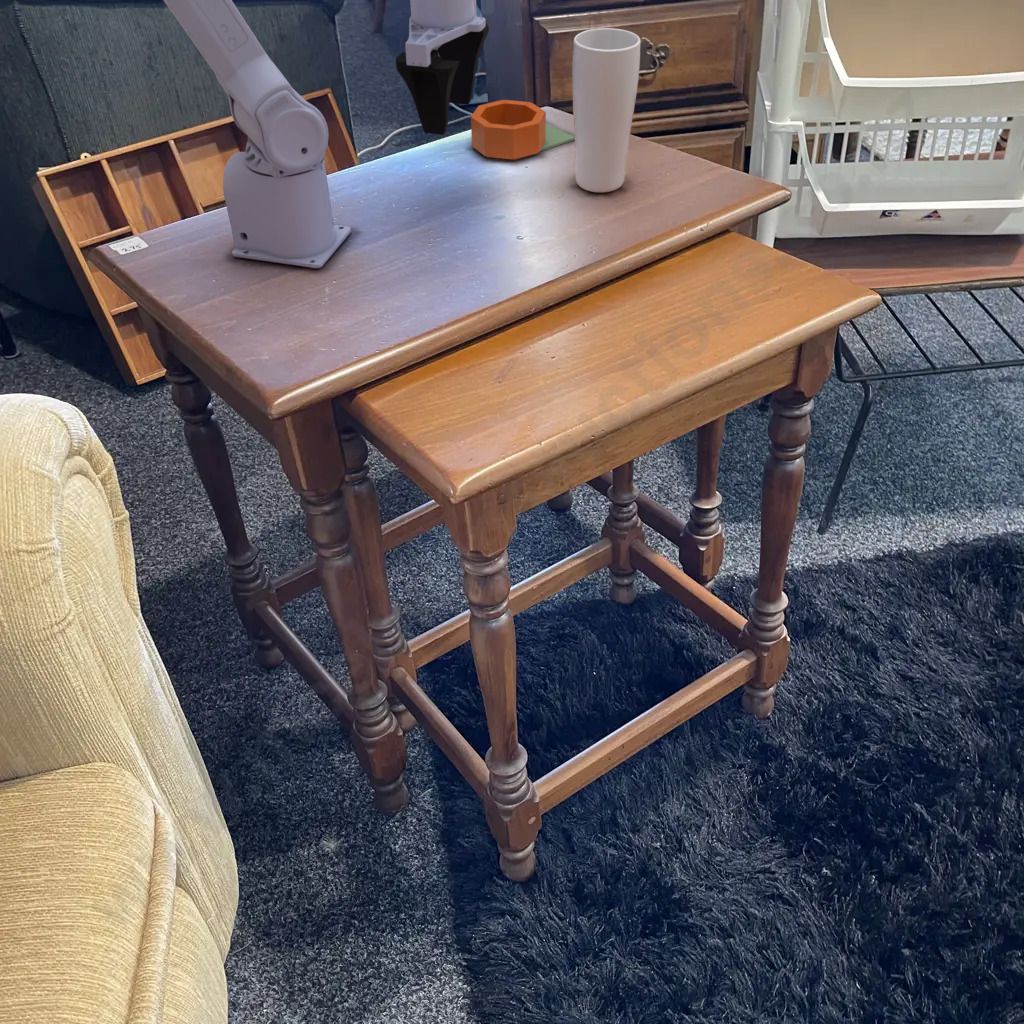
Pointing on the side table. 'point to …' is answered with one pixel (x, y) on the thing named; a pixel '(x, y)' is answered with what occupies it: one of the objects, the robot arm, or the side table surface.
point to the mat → (555, 137)
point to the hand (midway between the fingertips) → (447, 117)
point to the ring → (508, 129)
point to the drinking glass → (603, 104)
